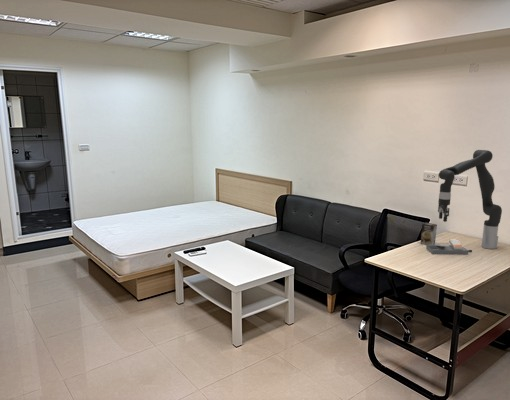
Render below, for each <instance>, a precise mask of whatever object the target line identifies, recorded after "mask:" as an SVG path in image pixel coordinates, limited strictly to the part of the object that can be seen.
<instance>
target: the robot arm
mask: <svg viewBox="0 0 510 400" xmlns="http://www.w3.org/2000/svg"><path fill="white" fill-rule="evenodd" d="M493 156H494V155H493V152H492V151H490V150H488V149H487V150H486V149H476V150H474V152H473V155H472V158H471V159H468V160H464V161H461V162H459V163H457V164H454V165H453V166H449V167H446V168H443V169H441V170H440V171H439V173H438V178H439V179H441V180H444V182H441V184H440V186H439V194H438V206H437V212H438V219H439V220H442V219H443V221H442V222H445V223H446V222H448V217H450V207H448V206H450V205H451V197H452V194H451V192H452V185H453V183H454V180H455V176H459V175H460V174H462V173H464V172H467V171H469V170H471V169H473V168H475V169H476V173H477V178H478V184H479V189H480V195H481V199H482V200H481V201H482V211H483V214H484V215H486V216H488V217H489V218H488V219H486V220H484V221H483V231H482V239H481V247H482V248H484V249H488V250H495V249H497V248H498V242H499V235H498V233H499V232H498V231H499V224H500V223H501V219H502V213H503V209H502V206H501V205H498V204H495V203H494V202H493V193H494V191H495V188H496V187H495V181H494V177H493V175H492V174H491V173H490V171H489V170H488V168H487V167H486V164H488V163H490V162H491V161H492V160H493V158H494V157H493Z"/></svg>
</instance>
